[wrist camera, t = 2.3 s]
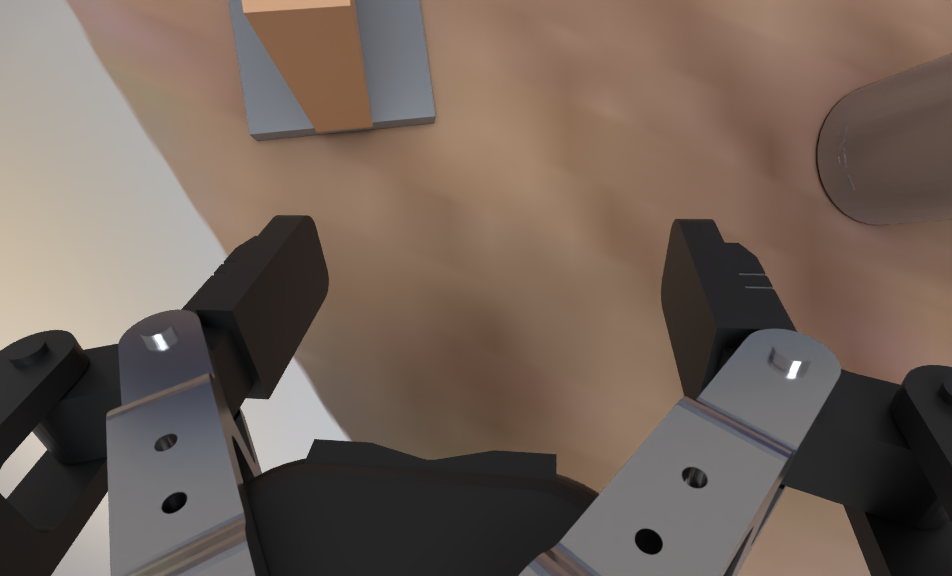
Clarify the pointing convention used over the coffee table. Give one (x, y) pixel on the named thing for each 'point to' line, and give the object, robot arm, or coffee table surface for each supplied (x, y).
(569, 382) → the coffee table surface
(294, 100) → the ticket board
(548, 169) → the coffee table surface
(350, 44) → the brown rectangular block
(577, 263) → the coffee table surface
